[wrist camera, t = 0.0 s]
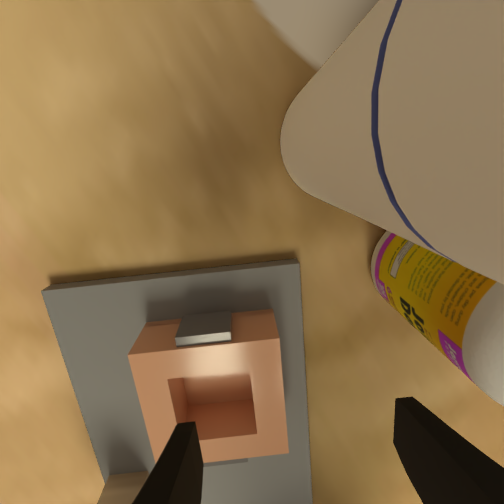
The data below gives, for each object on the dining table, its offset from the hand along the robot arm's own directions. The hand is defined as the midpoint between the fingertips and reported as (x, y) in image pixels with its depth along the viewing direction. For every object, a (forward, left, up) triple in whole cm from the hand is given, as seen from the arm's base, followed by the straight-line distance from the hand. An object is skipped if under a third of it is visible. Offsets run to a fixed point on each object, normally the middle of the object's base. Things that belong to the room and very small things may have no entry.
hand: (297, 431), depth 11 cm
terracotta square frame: (-4, +4, -9) cm, 11 cm away
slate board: (-8, +6, -10) cm, 14 cm away
